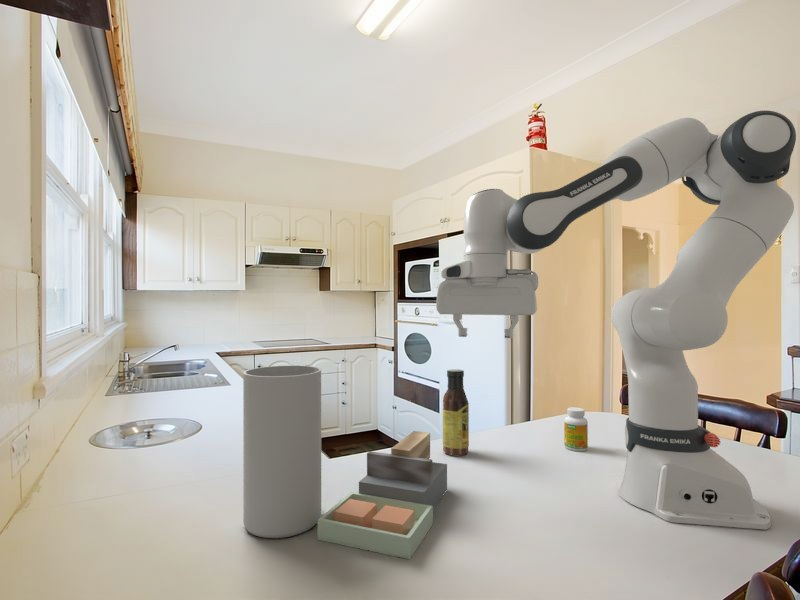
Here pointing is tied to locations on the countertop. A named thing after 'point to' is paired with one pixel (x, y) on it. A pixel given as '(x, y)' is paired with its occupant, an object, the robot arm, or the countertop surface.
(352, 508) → the orange block
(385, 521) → the peach block
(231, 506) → the countertop surface
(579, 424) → the supplement bottle
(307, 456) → the cylinder vase
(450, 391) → the sauce bottle
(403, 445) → the grey and tan blocks
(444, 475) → the board
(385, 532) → the tray
